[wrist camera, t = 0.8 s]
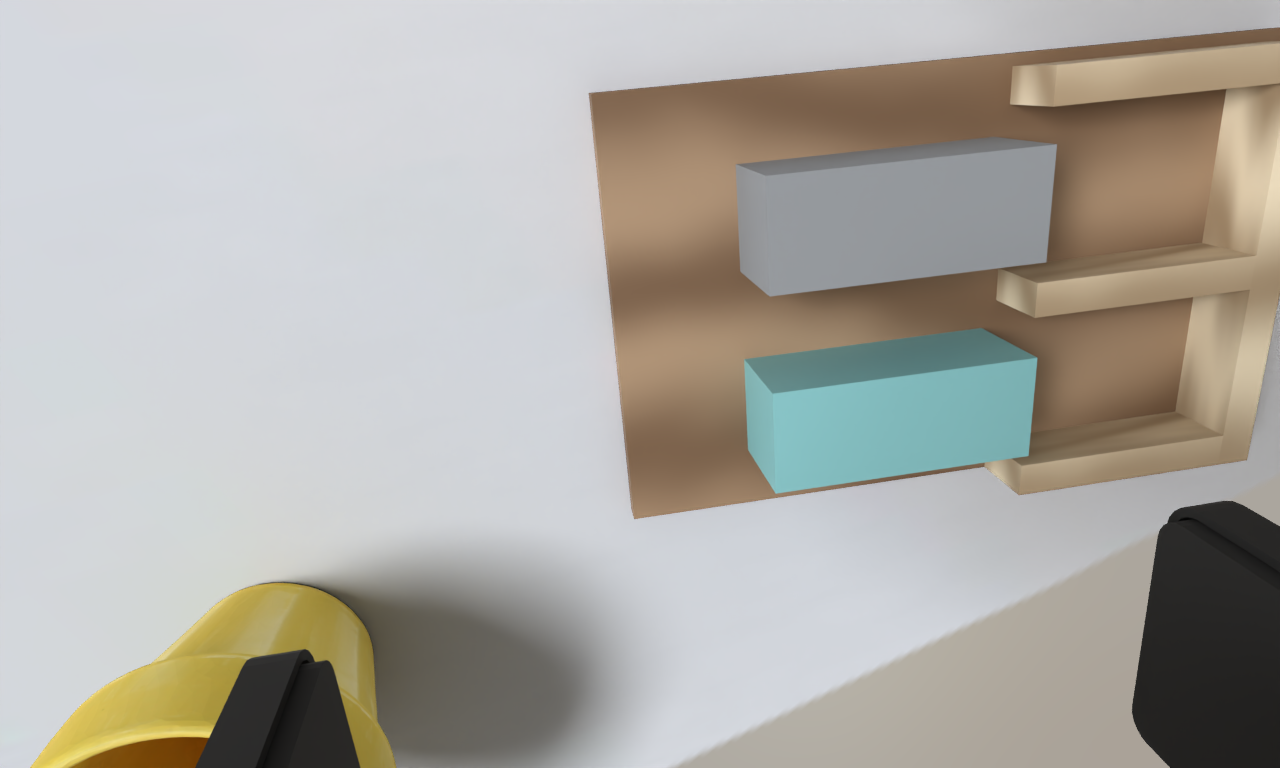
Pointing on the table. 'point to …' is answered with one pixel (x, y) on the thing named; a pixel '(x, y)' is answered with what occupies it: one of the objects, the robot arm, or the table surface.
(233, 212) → the table surface
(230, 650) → the plant pot
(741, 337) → the comb board
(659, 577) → the table surface
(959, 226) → the grey rectangular block
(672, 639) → the table surface
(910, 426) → the aqua foam brick
